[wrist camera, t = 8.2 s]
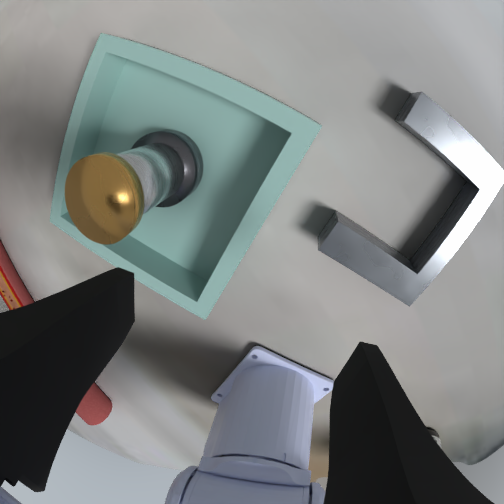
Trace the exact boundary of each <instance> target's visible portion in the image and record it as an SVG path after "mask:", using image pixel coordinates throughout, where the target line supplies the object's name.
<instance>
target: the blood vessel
mask: <svg viewBox="0 0 504 504" xmlns="http://www.w3.org/2000/svg"><path fill="white" fill-rule="evenodd" d="M0 295H1V297H2V298H3V300H4V302H5V303H6V305H7V306H8V308H9V310H13V309H16V308H19V307H22V306H25V305H28V304H31V303H34V301H33V299H32V298H31V296H30V294H29V293H28V291H27V289H26V288H25V286H24V284H23V282H22V281H21V279H20V277H19V275H18V274H17V272H16V270H15V268H14V266H13V264H12V263H11V261H10V259H9V257H8V255H7V253H6V251H5V249H4V247H3V245H2V243H1V241H0ZM111 410H112V402H111V401H110V399H109V398H108V397H107V396H106V395H105V394H104V393H103V392H102V391H101V390H100V389H99V387H98V386H97V385H96V384H95V383H93V384H92V386H91V387H90V389H89V390H88V391H87V393H86V394H85V396H84V397H83V399H82V401H81V402H80V404H79V406H78V408H77V410H76V413H77V414H78V415H79V416H80V417H81V418H82V419H83V420H84V421H85V422H86V423H87V424H88V425H97V424H100V423H101V422H103V421H104V420H105V419H106V418H107V417H108V416H109V414H110V412H111Z"/></svg>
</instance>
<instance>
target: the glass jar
mask: <svg viewBox="0 0 504 504" xmlns="http://www.w3.org/2000/svg"><path fill="white" fill-rule="evenodd" d="M202 175H203V158H202V155H201V152H200V150H199V148H198V146H197V145H196V143H195V142H194V141H193V140H192V139H191V138H190V137H189V136H187V135H186V134H184V133H182V132H180V131H176V130H162V131H157V132H153V133H149V134H146V135H144V136H143V137H141V138H140V139H138V140H137V141H136V142H135V144H134V145H133V146H132V148H131V150H128V151H124V152H121V153H118V154H114V153H110V152H100V153H96V154H93V155H90V156H87V157H84V158H82V159H80V160H78V161H77V162H76V163H75V164H74V165H73V166H72V168H71V169H70V171H69V173H68V175H67V178H66V182H65V202H66V207H67V210H68V213H69V215H70V217H71V219H72V221H73V223H74V224H75V226H76V227H77V229H78V230H79V231H80V232H81V233H82V234H83V235H84V236H85V237H87V238H88V239H90V240H92V241H94V242H96V243H99V244H105V245H108V244H114V243H117V242H119V241H120V240H122V239H123V238H124V237H126V236H127V235H128V234H129V233H131V232H132V231H133V230H134V229H135V228H136V227H137V226H138V224H139V222H140V221H141V218H142V215H144V214H145V213H146V212H148V211H149V210H151V209H152V208H154V207H171V206H174V205H176V204H178V203H179V202H181V201H182V200H184V199H185V198H186V197H188V196H189V195H190V194H191V193H193V192H194V191H195V189H196V188H197V187H198V185H199V183H200V181H201V179H202Z"/></svg>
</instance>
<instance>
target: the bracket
mask: <svg viewBox="0 0 504 504" xmlns="http://www.w3.org/2000/svg"><path fill="white" fill-rule="evenodd" d="M395 121H396V122H398V123H399V124H400V125H402V126H403V127H404V128H406V129H407V130H408V131H409V132H411V133H412V134H413V135H415V136H416V137H417V138H418V139H419V140H421V141H422V142H423V143H424V144H426V145H427V146H428V147H429V148H430V149H432V150H433V151H434V152H435V153H436V154H437V155H439V156H440V157H441V158H442V159H443V160H444V161H445V162H446V163H448V164H449V165H450V166H451V167H452V168H453V169H454V170H455V171H456V172H457V173H458V174H459V175H460V176H462V177H463V178H464V179H465V180H466V181H467V182H466V184H465V185H464V187H463V188H462V190H461V191H460V193H459V194H458V196H457V197H456V199H455V200H454V202H453V203H452V205H451V206H450V208H449V209H448V210H447V212H446V213H445V215H444V216H443V217H442V219H441V220H440V222H439V223H438V224H437V226H436V227H435V228H434V230H433V231H432V232H431V234H430V235H429V236H428V238H427V239H426V240H425V242H424V243H423V244H422V246H421V247H420V248H419V249H418V251H417V252H416V253H415V255H414V256H413V257H412V258H411V260H409V259H407V258H406V257H404V256H403V255H402V254H400V253H399V252H397V251H396V250H395V249H393V248H392V247H390V246H389V245H387V244H386V243H384V242H383V241H382V240H380V239H379V238H377V237H376V236H374V235H373V234H371V233H370V232H368V231H367V230H365V229H364V228H362V227H361V226H359V225H358V224H356V223H355V222H353V221H352V220H350V219H348V218H347V217H345V216H344V215H342V214H341V213H339V212H338V211H335V213H334V214H333V216H332V217H331V219H330V220H329V221H328V223H327V224H326V226H325V227H324V229H323V230H322V232H321V233H320V234H319V236H318V250H319V251H321V252H322V253H324V254H326V255H327V256H329V257H331V258H332V259H334V260H336V261H337V262H339V263H341V264H342V265H344V266H346V267H347V268H349V269H351V270H352V271H354V272H355V273H357V274H359V275H360V276H362V277H364V278H365V279H367V280H368V281H370V282H372V283H373V284H375V285H376V286H378V287H380V288H381V289H383V290H384V291H386V292H388V293H389V294H391V295H392V296H394V297H395V298H397V299H399V300H400V301H402V302H403V303H405V304H406V305H408V306H410V305H411V304H412V303H413V302H414V301H415V300H416V299H417V298H418V297H419V295H420V294H421V293H422V292H423V291H424V290H425V289H426V288H427V286H428V285H429V284H430V283H431V282H432V281H433V279H434V278H435V277H436V276H437V275H438V274H439V272H440V271H441V270H442V269H443V267H444V266H445V265H446V264H447V263H448V261H449V260H450V259H451V258H452V256H453V255H454V254H455V252H456V251H457V250H458V249H459V247H460V246H461V245H462V243H463V242H464V241H465V239H466V238H467V237H468V235H469V234H470V232H471V231H472V230H473V228H474V227H475V225H476V224H477V223H478V221H479V220H480V218H481V217H482V215H483V214H484V212H485V211H486V209H487V208H488V206H489V205H490V203H491V202H492V200H493V199H494V197H495V196H496V194H497V192H498V191H499V189H500V188H501V186H502V184H503V183H504V170H503V169H502V168H501V167H500V166H499V165H498V163H497V162H496V161H495V160H494V159H493V158H492V157H491V156H490V155H489V153H488V152H487V151H486V150H485V149H484V148H483V147H482V146H481V145H480V144H479V143H478V142H477V141H476V140H475V139H474V138H473V137H472V136H471V135H470V134H469V133H468V132H467V131H466V130H465V129H464V128H463V127H462V126H461V125H460V124H459V123H458V122H457V121H456V120H455V119H453V118H452V117H451V116H450V115H449V114H448V113H447V112H446V111H445V110H443V109H442V108H441V107H440V106H439V105H438V104H436V103H435V102H434V101H433V100H432V99H430V98H429V97H428V96H427V95H425V94H424V93H423V92H417V93H411V95H410V96H409V98H408V100H407V101H406V103H405V104H404V106H403V108H402V109H401V111H400V113H399V114H398V116H397V118H396V119H395Z"/></svg>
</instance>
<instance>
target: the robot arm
mask: <svg viewBox="0 0 504 504" xmlns="http://www.w3.org/2000/svg"><path fill="white" fill-rule="evenodd" d="M134 321H135V314H134V273H133V272H130V271H127V270H125V269H122V268H119V267H117V268H115V269H112V270H109V271H107V272H104V273H102V274H100V275H98V276H95V277H93V278H91V279H88V280H86V281H84V282H82V283H79V284H77V285H75V286H73V287H70V288H68V289H66V290H63V291H61V292H59V293H56V294H54V295H51V296H49V297H46V298H44V299H41V300H39V301H36V302H34V303H31V304H28V305H25V306H22V307H19V308H16V309H13V310H9V311H6V312H3V313H0V504H21V503H20V502H19V501H18V500H16V499H15V498H14V497H13V496H11V495H10V494H9V493H8V492H7V491H5V490H4V489H3V488H2V487H1V485H2V484H3V482H4V480H6V481H7V482H8V483H9V484H10V485H12V486H15V485H16V483H17V482H18V480H19V481H20V482H21V483H23V484H24V485H26V486H27V487H29V488H30V489H31V490H33V491H34V492H41V491H44V490H45V487H46V483H47V479H48V476H49V473H50V469H51V467H52V463H53V461H54V458H55V456H56V453H57V450H58V448H59V446H60V443H61V441H62V439H63V436H64V434H65V432H66V430H67V428H68V426H69V423H70V421H71V419H72V418H73V416H74V414H75V412H76V410H77V408H78V406H79V404H80V402H81V401H82V399H83V397H84V396H85V394H86V393H87V391H88V390H89V389H90V387H91V386H92V384H93V383H94V382H95V380H96V379H97V377H98V376H99V375H100V373H101V372H102V371H103V369H104V368H105V367H106V365H107V364H108V362H109V361H110V360H111V358H112V357H113V356H114V354H115V353H116V352H117V350H118V349H119V347H120V346H121V345H122V343H123V341H124V339H125V338H126V336H127V334H128V332H129V330H130V329H131V327H132V325H133V323H134ZM254 355H257V356H254ZM331 390H332V398H331V406H330V441H329V471H328V481H327V487H326V491H325V490H324V489H323V488H322V487H321V485H320V484H319V483H315V482H311V483H310V478H311V471H310V470H308V464H309V455H310V445H311V433H312V421H313V408H314V403H316V402H317V401H318V400H320V399H321V398H322V397H324V396H325V395H326V394H327V393H329V392H330V391H331ZM211 399H212V400H213V401H214V402H216V403H219V406H218V409H217V412H216V415H215V418H214V421H213V424H212V427H211V430H210V433H209V436H208V439H207V442H206V445H205V448H204V456H202V458H201V461H200V464H199V467H198V466H190V467H188V468H186V469H185V470H184V471H182V472H180V473H179V474H178V475H177V477H176V478H175V479H174V481H173V483H172V485H171V487H170V489H169V492H168V495H167V498H166V501H165V504H494V503H493V502H491V501H490V500H489V499H488V498H486V497H485V496H484V495H483V494H482V493H481V492H480V491H478V489H476V488H475V487H474V486H473V485H472V484H471V483H470V482H469V481H468V480H467V479H466V478H465V477H464V476H463V474H462V473H461V472H460V471H459V470H458V469H457V468H456V466H454V464H453V463H452V462H451V461H450V459H449V458H448V457H447V456H446V454H445V453H444V452H443V450H442V449H441V448H440V446H439V445H438V444H437V442H436V441H435V440H434V438H433V437H432V435H431V434H430V432H429V431H428V430H427V428H426V426H425V425H424V423H423V422H422V420H421V419H420V417H419V415H418V414H417V412H416V411H415V409H414V407H413V406H412V404H411V402H410V401H409V399H408V397H407V396H406V394H405V392H404V390H403V389H402V387H401V385H400V383H399V382H398V380H397V378H396V376H395V375H394V373H393V371H392V369H391V368H390V366H389V364H388V362H387V361H386V359H385V357H384V356H383V354H382V352H381V351H380V349H379V348H378V346H377V345H373V344H368V343H364V342H359V344H358V346H357V347H356V349H355V350H354V352H353V353H352V355H351V357H350V358H349V360H348V361H347V363H346V364H345V366H344V367H343V369H342V370H341V372H340V373H339V375H338V376H337V378H336V379H335V381H333V380H331V379H329V378H327V377H324V376H322V375H320V374H318V373H315V372H313V371H311V370H309V369H306V368H304V367H302V366H300V365H298V364H296V363H294V362H291V361H289V360H287V359H285V358H283V357H281V356H279V355H277V354H275V353H273V352H271V351H269V350H267V349H265V348H263V347H260V346H254V347H253V348H252V349H251V350H250V351H249V353H248V354H247V355H246V356H245V357H244V359H243V360H242V361H241V362H240V363H239V364H238V366H237V367H236V368H235V369H234V370H233V371H232V373H231V374H230V375H229V376H228V377H227V378H226V380H225V381H224V382H223V383H222V384H221V385H220V386H219V388H218V389H217V390H216V391H215V392H214V393H213V394H212V396H211Z"/></svg>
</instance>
